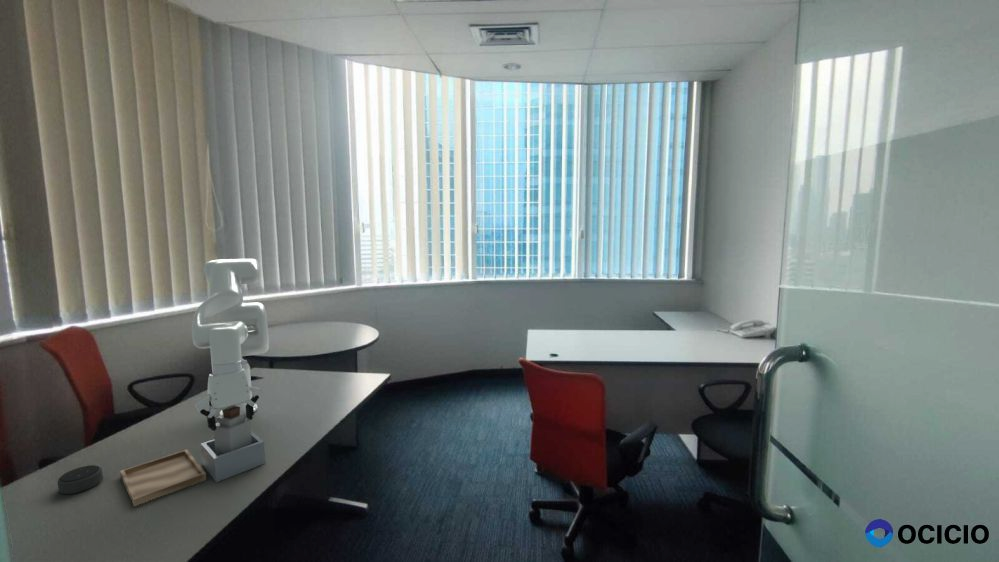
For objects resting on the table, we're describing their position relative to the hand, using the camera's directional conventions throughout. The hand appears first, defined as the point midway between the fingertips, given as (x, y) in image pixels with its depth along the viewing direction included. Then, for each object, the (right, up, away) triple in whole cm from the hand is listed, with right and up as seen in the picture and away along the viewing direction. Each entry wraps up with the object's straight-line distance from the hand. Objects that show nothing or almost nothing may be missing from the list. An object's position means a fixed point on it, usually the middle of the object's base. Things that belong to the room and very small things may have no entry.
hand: (231, 423), depth 128 cm
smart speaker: (-37, -15, -8) cm, 41 cm away
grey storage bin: (-1, -13, +3) cm, 14 cm away
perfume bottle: (-1, -13, +3) cm, 14 cm away
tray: (-17, -14, -5) cm, 22 cm away
